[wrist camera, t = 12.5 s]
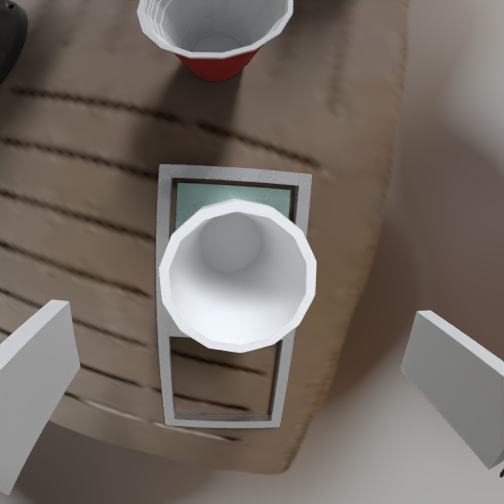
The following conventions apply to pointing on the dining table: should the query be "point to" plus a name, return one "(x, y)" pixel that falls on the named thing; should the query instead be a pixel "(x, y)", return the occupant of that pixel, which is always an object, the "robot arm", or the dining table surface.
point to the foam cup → (237, 276)
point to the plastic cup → (213, 31)
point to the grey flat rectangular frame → (187, 205)
